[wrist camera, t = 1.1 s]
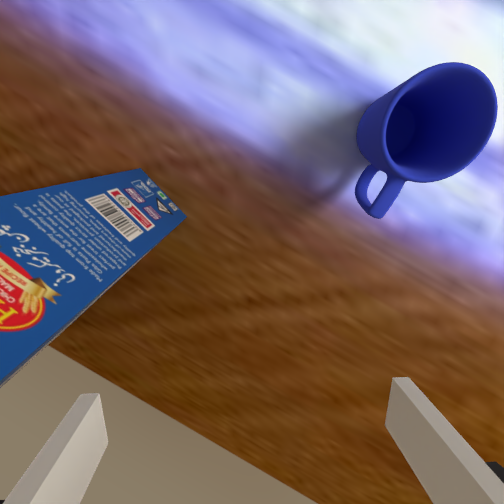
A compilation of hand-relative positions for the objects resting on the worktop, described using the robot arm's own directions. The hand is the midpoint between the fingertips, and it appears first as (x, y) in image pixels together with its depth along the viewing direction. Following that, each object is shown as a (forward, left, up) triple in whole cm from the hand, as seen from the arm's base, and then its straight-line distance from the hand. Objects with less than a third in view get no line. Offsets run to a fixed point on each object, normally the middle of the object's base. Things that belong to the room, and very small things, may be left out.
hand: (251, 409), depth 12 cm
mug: (-16, +2, -25) cm, 30 cm away
